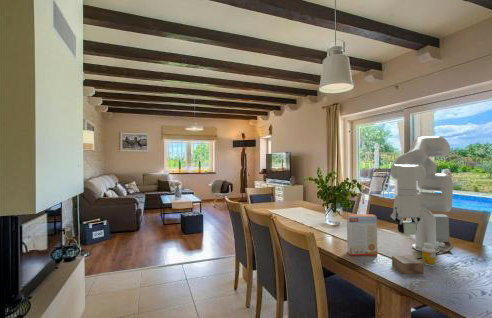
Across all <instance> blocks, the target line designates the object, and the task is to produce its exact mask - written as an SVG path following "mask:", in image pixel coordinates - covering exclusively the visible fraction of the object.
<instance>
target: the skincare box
mask: <svg viewBox="0 0 492 318" xmlns="http://www.w3.org/2000/svg"><path fill="white" fill-rule="evenodd" d="M433 215H434V216H435V219H436V242H439V243H450V217H449V215H446V214H444V213H443V214H442V213H441V214H440V213H439V214H437V213H436V214H435V213H433Z"/></svg>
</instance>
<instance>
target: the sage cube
mask: <svg viewBox="0 0 492 318" xmlns="http://www.w3.org/2000/svg"><path fill="white" fill-rule="evenodd" d="M402 224H403V225H404V233H401V234H403V235H405V236H407V235H408V236H411V235H412V236H413V235H416V223H414V222H412V221H411V220H403V223H402Z"/></svg>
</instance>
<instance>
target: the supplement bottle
mask: <svg viewBox="0 0 492 318" xmlns="http://www.w3.org/2000/svg"><path fill="white" fill-rule="evenodd" d="M436 256H437V255H436V251H435V249H434V244H432V243H424V247H423V248H422V251H421V262H422V263H424V266H425V265H426V266H430V267H434V266H436V259H437V258H436Z"/></svg>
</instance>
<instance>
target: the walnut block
mask: <svg viewBox="0 0 492 318" xmlns="http://www.w3.org/2000/svg"><path fill="white" fill-rule="evenodd" d="M391 267H393V268H395V269H396V270H397V271H398V272H400V273H401V274H402V275H424V274H425V273H424V271H425V268H424V267H425V264H424V263H422V260H419V259H417V258H415V257H414V256H413V255H391Z"/></svg>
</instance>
